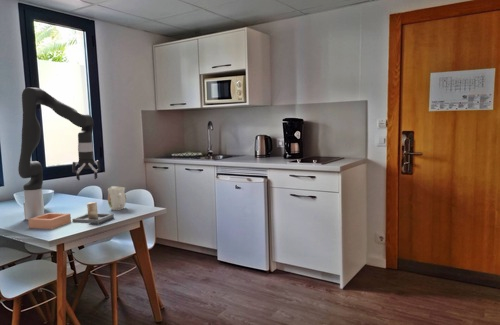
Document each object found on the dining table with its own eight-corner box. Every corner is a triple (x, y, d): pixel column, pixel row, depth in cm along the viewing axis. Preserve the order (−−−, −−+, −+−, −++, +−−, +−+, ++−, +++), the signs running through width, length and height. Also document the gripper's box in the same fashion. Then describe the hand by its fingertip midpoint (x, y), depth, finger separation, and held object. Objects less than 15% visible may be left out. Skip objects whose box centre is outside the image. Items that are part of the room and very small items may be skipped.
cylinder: (86, 220, 207) (85, 204, 206) (92, 217, 212) (90, 202, 211) (94, 220, 206) (93, 204, 205) (100, 217, 210) (98, 202, 210)
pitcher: (113, 213, 226) (111, 190, 225) (105, 208, 241) (103, 187, 239) (131, 210, 232) (130, 188, 231) (122, 205, 247) (121, 185, 246)
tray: (72, 223, 204) (72, 219, 204) (89, 217, 217) (89, 213, 217) (98, 224, 200) (98, 220, 200) (113, 218, 214) (113, 213, 213)
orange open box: (29, 229, 194) (28, 219, 193) (49, 222, 208) (48, 212, 207) (51, 230, 191) (51, 220, 190) (71, 223, 204) (70, 213, 204)
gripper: (72, 151, 201) (73, 181, 202) (100, 150, 208) (101, 179, 210) (70, 150, 207) (72, 179, 209) (98, 149, 214) (99, 177, 216)
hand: (87, 179), depth 209 cm, fingers open, 8 cm apart
